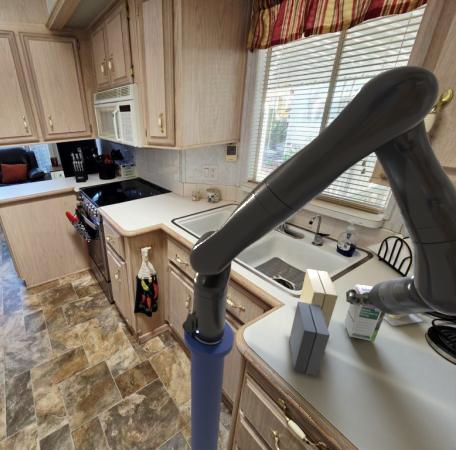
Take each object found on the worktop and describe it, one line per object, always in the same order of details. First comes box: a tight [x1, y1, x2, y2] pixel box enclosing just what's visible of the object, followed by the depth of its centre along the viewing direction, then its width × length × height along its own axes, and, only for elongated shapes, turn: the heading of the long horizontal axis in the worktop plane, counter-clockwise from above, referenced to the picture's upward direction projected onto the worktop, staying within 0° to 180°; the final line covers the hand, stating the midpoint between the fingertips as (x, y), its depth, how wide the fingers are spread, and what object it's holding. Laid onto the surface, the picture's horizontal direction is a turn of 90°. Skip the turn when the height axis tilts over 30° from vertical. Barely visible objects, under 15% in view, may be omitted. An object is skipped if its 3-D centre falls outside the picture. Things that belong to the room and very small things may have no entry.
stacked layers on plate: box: [383, 313, 423, 327], centre depth 77 cm, size 10×9×6 cm
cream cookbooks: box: [298, 268, 339, 330], centre depth 73 cm, size 5×11×16 cm, turn 160°
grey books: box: [288, 301, 330, 377], centre depth 63 cm, size 5×10×14 cm, turn 160°
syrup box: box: [343, 283, 385, 342], centre depth 69 cm, size 6×6×14 cm
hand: (364, 302), depth 69 cm, fingers closed on syrup box, 5 cm apart
